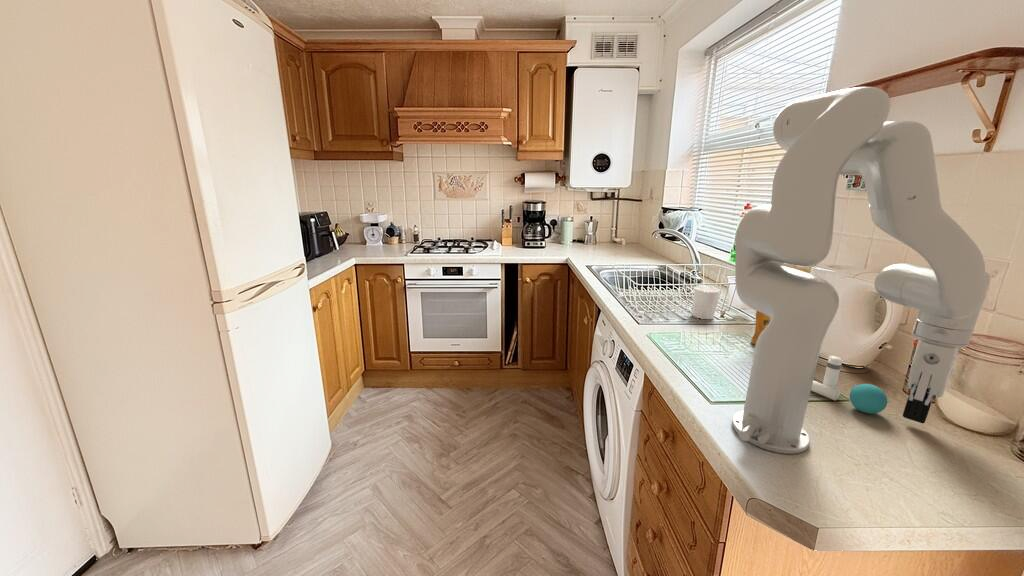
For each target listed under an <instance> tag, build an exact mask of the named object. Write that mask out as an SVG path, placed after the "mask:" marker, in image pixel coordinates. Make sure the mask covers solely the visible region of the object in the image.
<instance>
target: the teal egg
mask: <svg viewBox="0 0 1024 576" xmlns="http://www.w3.org/2000/svg"><path fill="white" fill-rule="evenodd" d="M849 401H850V403H851V405H852V406H853V407H854V408H855V409H857V410H858V411H860V412H862V413H865V414H873V415H874V414H879V413H881V412H883V411H884V410H885V409H886V407H887V405H888V397H887V395H886V393H885V392H884V391H883V390H882V389H881V388H880V387H878V386H877V385H874V384H871V383H860V384H857V385H855V386H854V387H853V388H852V389H851V390H850V392H849Z"/></svg>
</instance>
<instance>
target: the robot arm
mask: <svg viewBox="0 0 1024 576" xmlns="http://www.w3.org/2000/svg"><path fill="white" fill-rule="evenodd" d="M890 110H891V98H890V96H889V94H888V93H887V92H886V91H885V90H884V89H881V88H880V87H879V88H878V87H874V86H857V87H851V88H845V89H844V88H843V89H840V90H836V91H831V92H827V93H821V94H819V95H818V94H817V95H814V96H809V97H804V98H801V99H797V100H795V101H792V102H791V103H788V104H787V105H786V106H785V107H783V108H782V109H781V110H780V111H779V112H778V114H777V115H776V117H775V119H774V122H773V128H772V129H773V131H772V132H773V136H774V140H775V142H776V143H777V145H779V147H780V148H782V149H783V150H784V151H785V152H786V153H784V155H783V156H782V158H781V159H780V162H779V163H778V166H777V168H776V170H775V172H774V175H773V180H772V191H771V200H770V204H762V205H759V206H755V207H754V208H752V209H750V210H749V211H748V212H747V213H746V214H745V215H744V216H743V217H742V219H741V221H740V222H739V224H738V226H737V229H736V232H735V233H736V234H735V242H734V244H735V245H734V246H735V250H734V251H735V252H734V255H735V256H734V260H735V261H734V265H735V266H734V267H735V269H734V274H735V275H734V278H735V280H734V282H735V290H736V294H737V297H738V298H739V300H740V301H741V302H742V303H743V304H744V305H745V306H747V307H749V308H751V309H752V310H754V311H759V312H761V313H763V314H765V315H766V316H768V317H770V322H769V324H768V325H767V326H766V328H765V329H764V330H763V331H762V332H761V334H760V335H759V337H758V339H757V342H756V344H755V346H754V352H753V353H754V354H753V359H752V363H751V368H750V369H751V370H750V373H749V380H748V384H747V385H748V386H747V390H746V394H745V395H746V396H745V400H744V401H745V402H744V407H743V410H741V411H738V412H735V414H734V415H733V416H732V420H731V425H732V427H733V430H734V431H735V432H736V434H738V437H739V438H740V440H742V441H743V442H749V443H750V444H752V445H753V446H756V447H758V448H760V449H764V450H765V451H770V452H774V453H778V454H783V455H784V454H789V455H794V454H800V453H803V452H805V451H807V449H809V446H810V443H811V441H810V436H809V434H808V432H807V431H806V430H805V429H804V428H803V425H804V421H805V416H806V413H807V408H808V403H809V400H810V396H811V392H812V391H811V387H812V383H813V380H814V379H815V374H816V370H817V369H816V368H817V365H818V364H817V363H818V361H819V357H820V353H821V349H822V345H823V343H824V340H825V338H826V335H827V333H828V330H829V329H830V326H831V325H832V324H833V321H834V319H835V317H836V315H837V313H838V309H839V306H840V298H839V294H838V291H837V290H836V288H835V287H834V286H833V285H832V284H831V283H830V282H829V281H827V280H825V279H824V278H823V277H820V276H818V275H817V274H816V275H813V274H810V273H807V272H804V271H800V270H797V269H794V268H790V267H786V266H784V263H785V264H789V265H794V266H801V267H806V266H813V265H816V266H817V265H818V264H820V263H822V261H824V260H825V259H826V258H827V257H828V255H829V253H830V251H831V247H832V242H833V234H834V222H835V209H836V208H835V207H836V195H837V188H838V187H837V186H838V181H839V178H840V175H841V176H862V177H863V180H864V181H863V182H864V185H865V190H866V193H867V199H868V206H869V212H870V216H871V221H872V222H873V224H874V225H875V227H878V228H879V230H882V231H883V232H884V233H885V234H887V235H889V236H890V237H892V238H893V239H895V240H898V241H899V242H901V243H903V244H904V245H906V246H908V247H909V248H911V249H912V250H913V251H915V252H916V253H918V254H919V255H920V256H921V257H922V258H923V259H924V260H925V261H926V262H927V263H928V265H921V264H916V263H908V262H906V263H903V262H902V263H896V264H891V265H889V266H887V267H885V268H883V269H881V271H880V272H878V273H877V275H876V277H875V279H874V285H873V286H874V288H875V291H876V292H877V294H878V295H879V296H880V297H882V299H884V300H887V301H889V302H891V303H894V304H897V305H899V306H904V307H907V308H909V309H912V310H913V309H914V310H917V314H916V317H915V320H914V325H913V328H912V331H911V336H913V338H914V339H915V338H916V339H918V341H917V345H916V348H915V351H914V355H913V359H912V361H911V366H910V371H909V375H908V380H907V388H908V389H909V390H911V391H910V395H908V398H907V400H906V403H905V407H904V409H903V413H902V417H903V418H905V419H908V420H912V421H914V422H916V423H917V422H918V423H920V424H925V423H926V420H927V417H928V414H929V411H930V408H931V406H932V402H931V400H932V397H933V396H936V398H938V399H939V398H943V397H944V395H945V392H946V389H947V387H948V384H949V380H950V378H951V375H952V372H953V369H954V366H955V364H956V363H955V362H956V360H957V357H958V353H959V349H965V348H968V347H969V344H970V342H971V339H972V336H973V334H974V330H975V327H976V324H977V322H978V319H979V315H980V313H981V310H982V306H983V305H984V302H985V300H986V297H987V292H988V289H989V286H990V283H991V275H990V274H989V272H987V271H986V264H985V263H986V262H985V259H984V256H983V254H982V251H981V250H980V248H979V245H977V244H976V242H975V241H974V240H973V238H971V236H970V235H969V234H968V233H967V232H966V231H965V230H964V229H963V227H962V226H960V225H959V224H958V222H956V221H955V220H954V218H953V217H951V216H950V215H948V213H946V212H945V211H944V208H943V207H942V203H941V196H940V190H939V187H940V186H939V181H938V174H937V167H936V160H935V152H934V145H933V139H932V135H931V132H930V130H929V129H928V128H927V126H926V125H924V124H923V123H920V122H917V121H913V120H894V121H887V120H888V117H889V114H890Z"/></svg>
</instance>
